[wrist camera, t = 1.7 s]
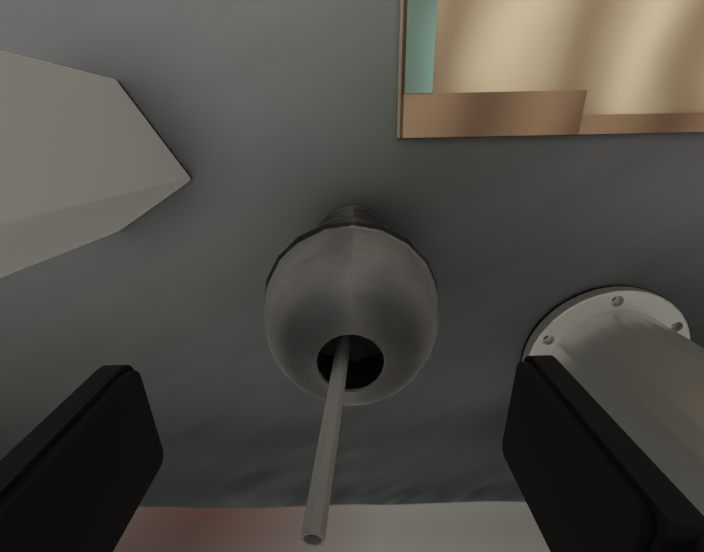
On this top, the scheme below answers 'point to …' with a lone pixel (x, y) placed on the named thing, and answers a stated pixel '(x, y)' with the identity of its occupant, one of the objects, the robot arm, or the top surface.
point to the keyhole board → (550, 67)
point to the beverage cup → (348, 326)
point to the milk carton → (72, 161)
